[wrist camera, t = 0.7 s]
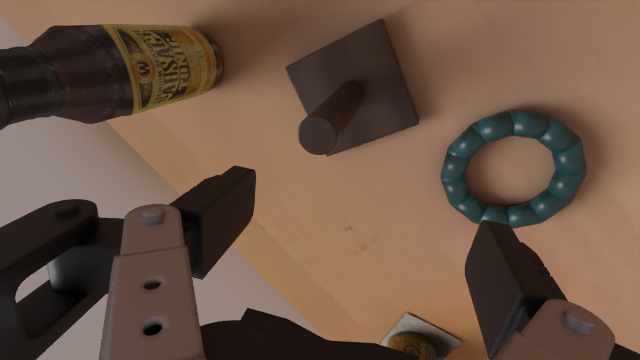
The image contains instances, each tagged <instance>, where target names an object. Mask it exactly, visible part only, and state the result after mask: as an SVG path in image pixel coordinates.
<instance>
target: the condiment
mask: <svg viewBox="0 0 640 360" xmlns="http://www.w3.org/2000/svg"><path fill="white" fill-rule="evenodd" d="M461 343H462V342H461V341H459V340H458V339H456V338H455V337H453V336H451V335H449V334H447V333H445V332H443V331H442V330H440V329H438V328H436V327H434V326H432V325H430V323H426V322H423V321H421V320H420V319H418V318H416V317H413V316H411V315H409V314H408V313H406V314H405V315H404V316H403V317H402V318H401V320H400V321H399V322H398V323H397V324H396V326H395V327H394V328H393V329H392V330H391V331H390V332H389V333H388V335H387V336H386V337H385V338H384V339H383V341H382V342H381V343H380V344H379V345H382V346H386V347H389V348H393V349H396V350H400V351H404V352H407V353H411V354H414V355H418V356H419V360H443V358H445V357H447V355H448V354H449V353H450V352H451V351H452V350H453V349H455V348H456V347H458V345H459V344H461Z"/></svg>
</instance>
